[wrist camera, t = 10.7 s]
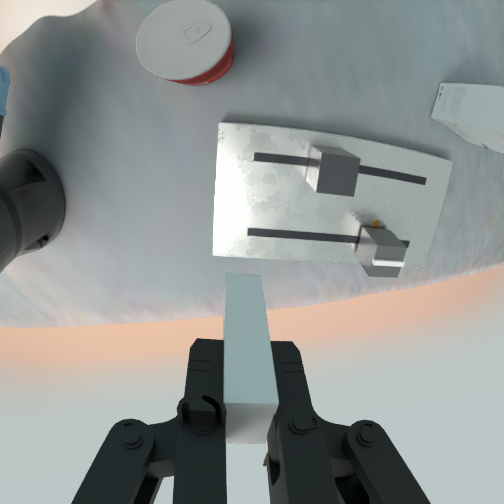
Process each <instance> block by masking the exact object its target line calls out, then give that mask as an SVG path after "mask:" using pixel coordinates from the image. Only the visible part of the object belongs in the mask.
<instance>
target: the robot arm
mask: <svg viewBox="0 0 504 504" xmlns="http://www.w3.org/2000/svg"><path fill="white" fill-rule="evenodd" d="M9 84H10V76H9V73H8V71H7V70H6V69H5V68H4V67H3V66H0V137H1V131H2V125H3V119H4V116H5V115H6V110H5V107H6V100H7V94H8V89H9ZM64 213H65V201H64V194H63V190H62V186H61V183H60V181H59V178H58V176H57V174H56V172H55V171H54V169H53V168H52V166H51V165H50V164H49V163H48V161H47V160H45V159H44V158H43V157H42V156H41V155H39V154H37V153H35V152H33V151H29V150H19V151H16V152H13V153H10V154H8V155H6V156H4V157H3V158H1V159H0V272H1V271H2V270H3V269H4V268H5V267H6V266H7V265H8V264H9V263H10V262H11V261H12V260H13V259H14V258H16V257H18V256H21V255H24V254H27V253H30V252H34V251H37V250H39V249H41V248H43V247H45V246H46V245H47V244H48V243H49V242H50V241H52V240H53V239H54V238H55V237H56V235H57V234H58V232H59V231H60V229H61V226H62V223H63V220H64ZM177 413H178V415H177V416H176V417H175V418H173V419H171V420H169V421H167V422H163V423H158V424H151V425H147V424H145V423H143V422H142V421H140V420H136V419H125V420H121V421H119V422H118V423H116V424H115V425H114V426H113V427H112V428H111V430H110V431H109V433H108V435H107V437H106V439H105V441H104V443H103V444H102V446H101V448H100V450H99V452H98V453H97V455H96V457H95V459H94V461H93V463H92V465H91V467H90V469H89V470H88V472H87V474H86V476H85V478H84V480H83V482H82V484H81V486H80V488H79V489H78V491H77V493H76V495H75V497H74V499H73V501H72V503H71V504H153V503H154V500H155V498H156V495H157V492H158V490H159V488H160V485H161V482H162V480H163V478H164V477H170V476H174V489H173V504H227V486H226V443H236V444H238V443H239V444H260V443H261V444H262V443H266V440H267V442H268V452H267V454H266V457H265V459H264V464H263V466H266V465H267V472H268V483H269V492H270V504H431V503H430V502H429V500H428V498H427V497H426V495H425V494H424V492H423V491H422V489H421V487H420V486H419V484H418V482H417V481H416V479H415V478H414V476H413V474H412V473H411V471H410V470H409V468H408V467H407V465H406V463H405V462H404V460H403V459H402V457H401V456H400V454H399V452H398V451H397V449H396V448H395V446H394V445H393V443H392V442H391V440H390V438H389V437H388V435H387V434H386V432H385V431H384V429H383V428H382V427H381V426H380V425H379V424H377V423H375V422H373V421H370V420H361V421H357V422H355V423H354V424H352V425H351V426H345V425H339V424H334V423H330V422H327V421H325V420H324V419H322V418H321V417H319V416H318V415H317V414H316V412H315V411H314V409H313V406H312V403H311V398H310V394H309V389H308V385H307V381H306V376H305V374H304V367H303V364H302V359H301V354H300V351H299V350H298V348H297V347H296V346H295V345H294V343H293V342H292V341H270V336H269V329H268V322H267V315H266V308H265V301H264V294H263V287H262V280H261V275H250V274H233V273H226V286H225V301H224V316H223V340H215V339H213V340H212V339H199V338H197V339H196V340H195V342H194V343H193V345H192V346H191V347H190V354H189V362H188V368H187V377H186V386H185V394H184V397H183V398H182V399H181V400H180V401H179V404H178V406H177Z"/></svg>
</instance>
